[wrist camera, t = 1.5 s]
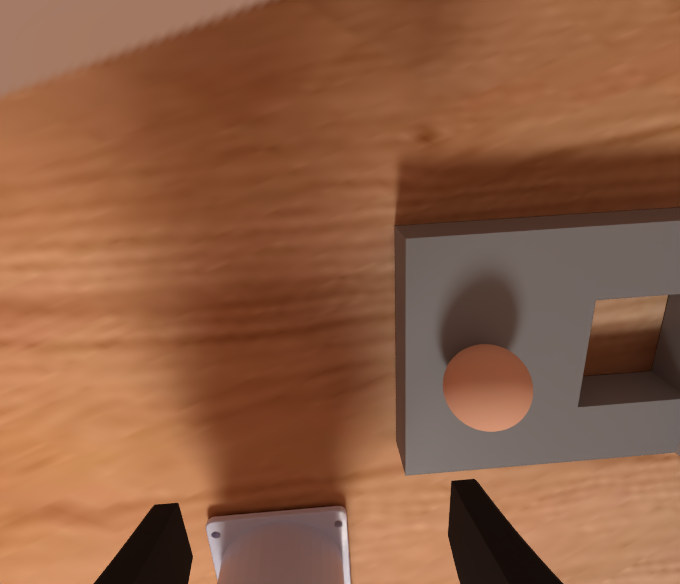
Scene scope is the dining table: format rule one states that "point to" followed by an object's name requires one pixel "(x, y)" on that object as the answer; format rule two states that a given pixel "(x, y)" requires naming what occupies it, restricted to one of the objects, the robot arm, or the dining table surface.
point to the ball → (488, 387)
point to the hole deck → (534, 335)
